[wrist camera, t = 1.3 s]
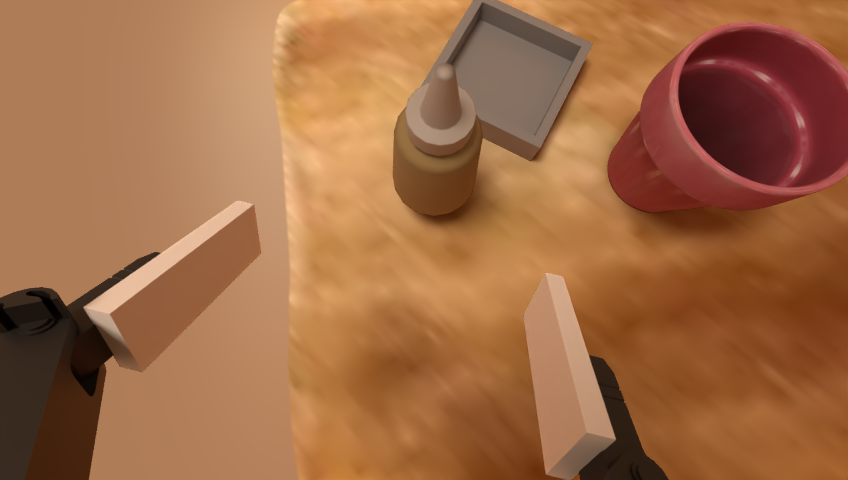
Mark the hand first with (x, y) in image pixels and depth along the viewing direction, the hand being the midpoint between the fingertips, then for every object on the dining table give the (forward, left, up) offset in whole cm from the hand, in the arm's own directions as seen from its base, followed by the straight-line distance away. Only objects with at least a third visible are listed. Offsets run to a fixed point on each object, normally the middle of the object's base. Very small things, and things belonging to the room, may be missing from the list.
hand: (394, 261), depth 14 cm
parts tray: (+2, -25, -19) cm, 31 cm away
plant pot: (-17, -23, -19) cm, 35 cm away
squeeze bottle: (+3, -10, -19) cm, 22 cm away
